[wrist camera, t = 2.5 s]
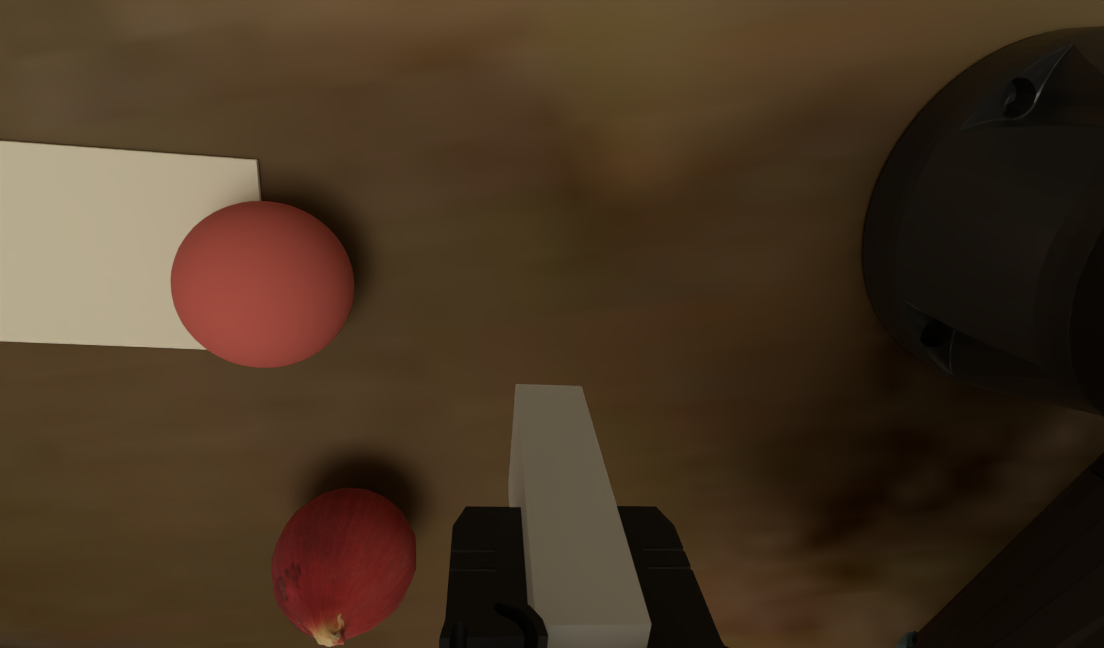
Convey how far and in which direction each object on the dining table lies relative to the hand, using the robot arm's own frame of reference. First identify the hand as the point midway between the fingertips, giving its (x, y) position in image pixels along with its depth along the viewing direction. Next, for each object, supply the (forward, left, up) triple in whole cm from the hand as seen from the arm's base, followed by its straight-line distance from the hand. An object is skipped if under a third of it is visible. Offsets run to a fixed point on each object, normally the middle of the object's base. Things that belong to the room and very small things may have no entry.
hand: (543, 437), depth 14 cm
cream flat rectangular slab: (+17, 0, -13) cm, 21 cm away
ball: (+9, 0, -10) cm, 14 cm away
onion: (+7, +12, -13) cm, 19 cm away
